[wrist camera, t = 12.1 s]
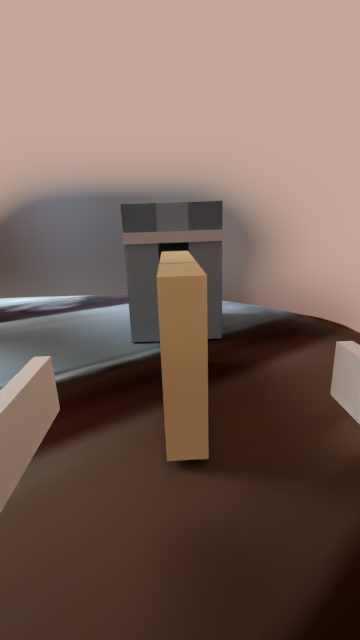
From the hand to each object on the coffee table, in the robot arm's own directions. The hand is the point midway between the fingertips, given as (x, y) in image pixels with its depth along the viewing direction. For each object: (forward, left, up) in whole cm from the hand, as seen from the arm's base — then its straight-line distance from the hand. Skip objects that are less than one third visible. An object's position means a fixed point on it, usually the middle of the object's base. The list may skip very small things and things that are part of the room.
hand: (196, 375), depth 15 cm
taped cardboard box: (-9, +5, -7) cm, 12 cm away
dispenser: (-26, +14, -7) cm, 30 cm away
